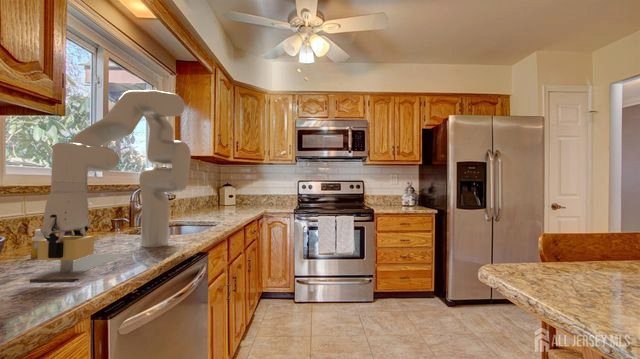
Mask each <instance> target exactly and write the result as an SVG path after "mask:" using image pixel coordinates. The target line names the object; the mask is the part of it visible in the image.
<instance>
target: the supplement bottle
mask: <svg viewBox="0 0 640 359" xmlns="http://www.w3.org/2000/svg"><path fill="white" fill-rule="evenodd" d="M40 230H41V228H38V229H34V236H32V237H31V240H30V241H31V243H30V259H34V258H35V259H36V258H38V240H43V239H46V238H45V237H44V235H43V234H42V232H41V231H40Z"/></svg>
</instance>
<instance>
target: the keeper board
mask: <svg viewBox="0 0 640 359" xmlns="http://www.w3.org/2000/svg"><path fill="white" fill-rule="evenodd" d="M124 255H125V256H126V253H98V254H97V253H93V254H91V255H88V256H85V257H82V258H79V259H76V260H60V264H59V265H60V266H56V267H53V268H50V269H48V270H44V271H42V272H39V273H36V274H34V275H31V276H30V279H29V283H30V284H31V283H34V284H37V283H38V284H39V283H41V284H44V283H74V282H76V281H79V280H80V278H64V277H75V276H78V275H80V274H83V273H84V272H87V271H90V270H91V269H93V268H96V267H99V266H101V265H104V264H106V263H108V262H111V261H113V260H115V259H119V258H121V257H123V256H124ZM43 277H44V278H43ZM47 277H51V278H50V279H49V278H48V279H47ZM54 277H55V278H54ZM56 277H57V278H56ZM58 277H60V278H59V279H58ZM61 277H63V278H61ZM31 278H35V279H31ZM36 278H37V279H36ZM38 278H39V279H38ZM42 278H43V279H42Z"/></svg>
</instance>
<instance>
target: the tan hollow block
mask: <svg viewBox="0 0 640 359" xmlns="http://www.w3.org/2000/svg"><path fill="white" fill-rule="evenodd" d="M61 242H64V244H63V257H62V258H48V244H49V243H47V241H46V239H43V240H38V257H37V261H61V260H73V261H76V260H79V259H82V258H85V257H88V256H91V255H93V254H95V252H94V249H95V248H94V247H95V235H86V236H63V239H62V241H61Z"/></svg>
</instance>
